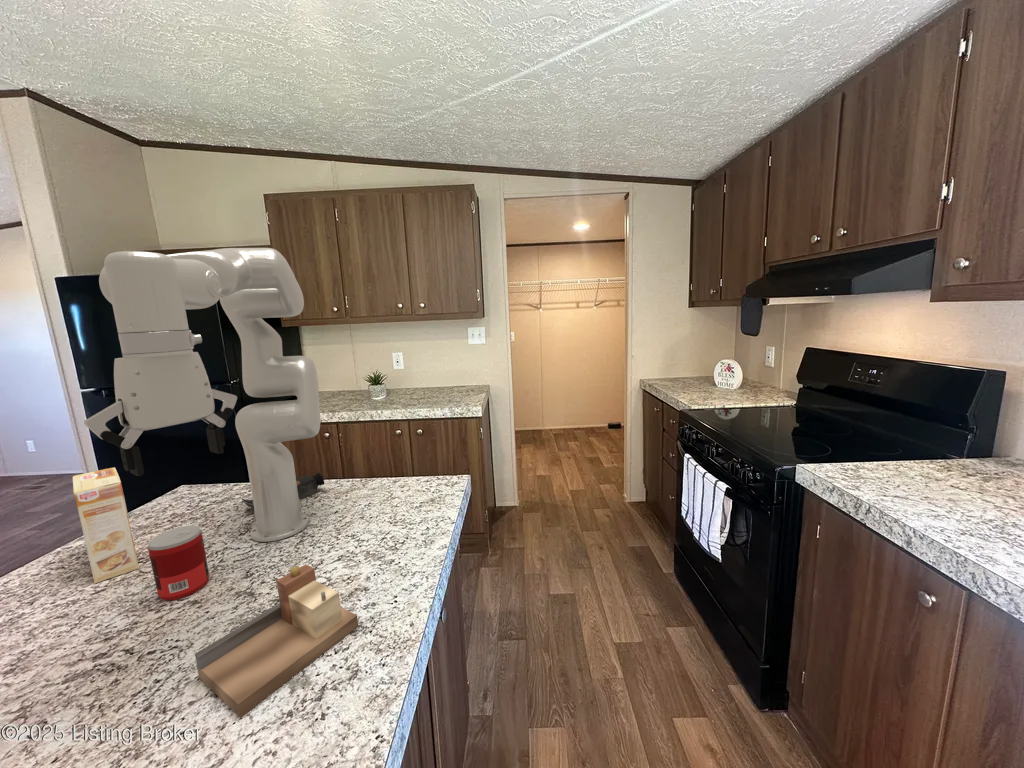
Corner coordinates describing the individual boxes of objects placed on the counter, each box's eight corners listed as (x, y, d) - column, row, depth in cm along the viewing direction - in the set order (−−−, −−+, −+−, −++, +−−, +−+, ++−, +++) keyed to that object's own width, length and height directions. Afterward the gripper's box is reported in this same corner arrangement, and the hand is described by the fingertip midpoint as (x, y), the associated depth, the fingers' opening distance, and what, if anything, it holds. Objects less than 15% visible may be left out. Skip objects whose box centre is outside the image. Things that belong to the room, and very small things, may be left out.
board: (199, 677, 59) (194, 653, 59) (315, 602, 74) (312, 582, 74) (240, 717, 53) (235, 690, 52) (358, 626, 68) (355, 604, 67)
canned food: (219, 578, 83) (210, 527, 81) (176, 605, 75) (165, 549, 74) (193, 572, 85) (183, 522, 84) (148, 597, 78) (137, 544, 76)
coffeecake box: (140, 568, 88) (121, 481, 85) (93, 585, 83) (71, 493, 80) (132, 544, 98) (115, 465, 95) (90, 558, 93) (70, 475, 90)
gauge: (282, 619, 68) (275, 574, 66) (310, 601, 72) (304, 558, 70) (314, 640, 63) (308, 592, 61) (343, 619, 67) (337, 574, 66)
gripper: (215, 340, 67) (232, 442, 70) (61, 351, 52) (90, 479, 55) (238, 340, 63) (255, 448, 66) (78, 351, 48) (108, 489, 51)
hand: (179, 462), depth 60 cm, fingers open, 9 cm apart
